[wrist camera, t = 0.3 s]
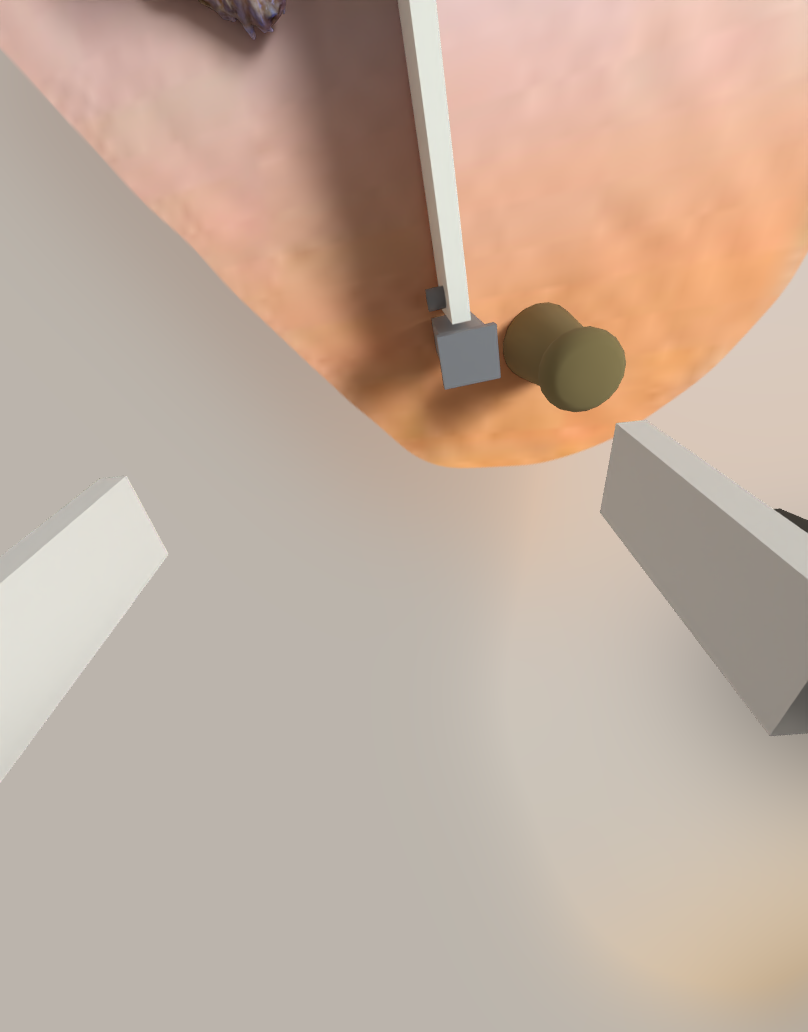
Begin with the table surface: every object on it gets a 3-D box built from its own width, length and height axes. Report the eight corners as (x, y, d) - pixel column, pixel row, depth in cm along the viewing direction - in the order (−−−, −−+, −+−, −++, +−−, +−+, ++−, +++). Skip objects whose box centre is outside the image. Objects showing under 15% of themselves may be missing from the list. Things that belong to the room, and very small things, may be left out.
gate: (350, -162, 21) (328, -346, 15) (396, -178, 21) (395, -373, 14) (426, 312, 33) (434, 329, 26) (456, 305, 33) (471, 320, 26)
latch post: (427, 315, 33) (436, 337, 25) (471, 305, 33) (496, 324, 25) (433, 356, 35) (445, 389, 27) (476, 346, 35) (500, 377, 26)
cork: (574, 292, 33) (645, 310, 23) (577, 369, 36) (640, 411, 27) (498, 314, 33) (536, 340, 24) (507, 387, 37) (545, 435, 27)
